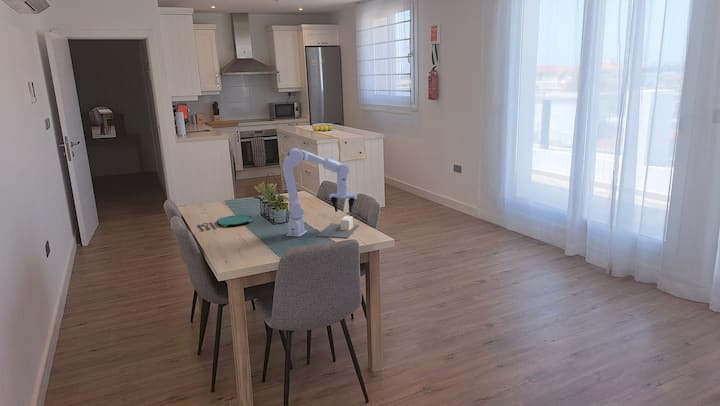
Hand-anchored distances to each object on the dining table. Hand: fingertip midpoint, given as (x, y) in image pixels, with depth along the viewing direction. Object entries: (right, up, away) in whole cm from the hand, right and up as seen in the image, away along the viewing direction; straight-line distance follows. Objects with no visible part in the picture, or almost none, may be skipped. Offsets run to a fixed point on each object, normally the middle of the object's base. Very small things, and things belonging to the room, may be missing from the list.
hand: (343, 211), depth 262 cm
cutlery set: (-67, -8, +18) cm, 70 cm away
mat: (-2, -10, -2) cm, 11 cm away
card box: (+2, -8, +2) cm, 9 cm away
